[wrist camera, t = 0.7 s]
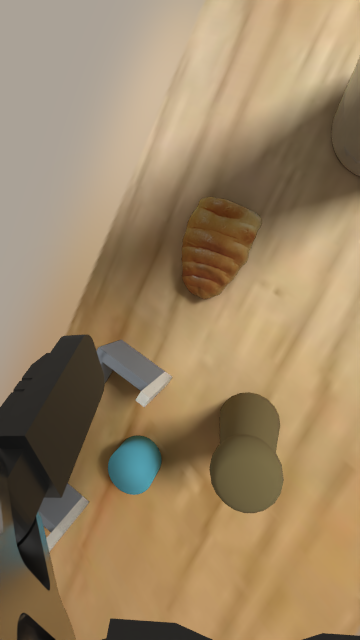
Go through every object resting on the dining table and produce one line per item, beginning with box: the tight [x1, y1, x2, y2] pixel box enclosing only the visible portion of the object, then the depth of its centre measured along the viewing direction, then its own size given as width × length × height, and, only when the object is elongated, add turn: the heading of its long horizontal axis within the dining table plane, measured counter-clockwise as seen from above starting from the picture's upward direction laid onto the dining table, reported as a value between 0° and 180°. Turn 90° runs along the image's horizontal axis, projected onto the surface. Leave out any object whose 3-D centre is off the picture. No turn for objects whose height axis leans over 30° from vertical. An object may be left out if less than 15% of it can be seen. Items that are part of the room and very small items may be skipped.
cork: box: [210, 393, 284, 513], centre depth 26 cm, size 6×6×11 cm
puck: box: [108, 436, 161, 495], centre depth 33 cm, size 5×5×3 cm
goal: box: [38, 340, 172, 552], centre depth 32 cm, size 20×7×7 cm, turn 147°
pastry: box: [182, 197, 262, 299], centre depth 29 cm, size 9×7×4 cm
